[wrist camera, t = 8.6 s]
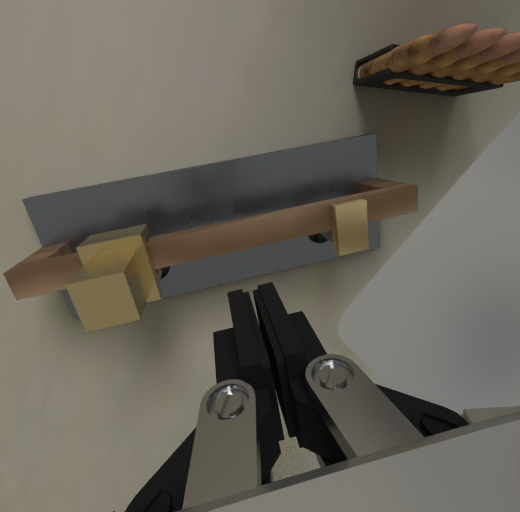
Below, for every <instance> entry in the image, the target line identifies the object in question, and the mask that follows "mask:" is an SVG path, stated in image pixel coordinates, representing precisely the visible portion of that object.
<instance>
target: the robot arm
mask: <svg viewBox="0 0 520 512" xmlns="http://www.w3.org/2000/svg"><path fill="white" fill-rule="evenodd" d="M227 293H228V299H229V304H230V310H231V316H232V321H233V328H229V329H225V330H221V331H217V332H214V333H213V337H214V352H215V366H216V381H217V384H216V385H214V386H213V387H212V388H211V389H209V390H208V391H207V392H206V394H205V395H204V397H203V399H202V401H201V404H200V410H199V415H198V421H197V427H196V428H195V429H194V430H193V431H192V433H191V434H190V435H189V436H188V437H187V438H186V439H185V440H184V442H183V443H182V444H181V445H180V446H179V447H178V448H177V450H176V451H175V452H174V453H173V454H172V455H171V456H170V457H169V459H168V460H167V461H166V462H165V463H164V464H163V465H162V466H161V468H160V469H159V470H158V471H157V472H156V473H155V474H154V475H153V477H152V478H151V479H150V480H149V481H148V482H147V483H146V485H145V486H144V487H143V488H142V489H141V490H140V491H139V492H138V494H137V495H136V496H135V497H134V499H133V500H132V501H131V503H130V504H129V506H128V507H127V509H126V511H124V512H520V406H515V407H497V408H479V409H464V411H463V414H457V413H456V412H454V411H452V410H450V409H448V408H445V407H443V406H440V405H437V404H434V403H431V402H428V401H425V400H421V399H419V398H416V397H413V396H410V395H407V394H404V393H401V392H398V391H395V390H392V389H389V388H386V387H383V386H380V385H377V384H374V383H373V382H372V381H371V380H370V378H369V377H368V376H367V375H366V374H365V373H364V372H363V371H362V370H361V369H360V368H359V367H358V366H357V365H356V363H354V362H353V361H352V360H350V359H349V358H346V357H344V356H341V355H336V354H328V355H327V353H326V352H325V350H324V348H323V346H322V345H321V343H320V341H319V339H318V338H317V336H316V334H315V332H314V331H313V329H312V327H311V325H310V324H309V322H308V320H307V318H306V317H305V315H304V313H303V312H302V311H300V312H296V313H291V314H287V312H286V310H285V307H284V305H283V303H282V301H281V299H280V297H279V295H278V293H277V291H276V289H275V287H274V285H273V283H272V282H271V283H267V284H262V285H258V290H253V294H254V300H255V305H256V310H257V315H258V320H259V324H258V321H257V318H256V314H255V311H254V308H253V305H252V301H251V298H250V295H249V292H245V293H243V291H242V289H240V290H236V291H232V292H227ZM259 326H260V327H259ZM275 390H276V392H275ZM276 393H277V397H278V400H279V403H280V407H281V410H282V414H283V417H284V420H285V424H286V427H287V431H288V434H289V437H290V438H291V437H295V436H296V437H297V440H298V444H299V447H300V448H302V447H304V448H306V449H308V450H310V451H312V452H314V453H316V457H317V460H318V463H319V465H320V467H321V468H319V469H316V470H312V471H309V472H305V473H302V474H299V475H295V476H292V477H289V478H285V479H282V480H279V481H275V482H274V481H273V473H272V467H273V466H274V464H275V462H276V461H277V459H278V457H279V455H280V454H281V451H280V446H279V441H281V440H284V435H283V429H282V424H281V418H280V413H279V408H278V402H277V397H276ZM113 512H115V511H113Z"/></svg>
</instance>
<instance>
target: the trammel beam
mask: <svg viewBox="0 0 520 512" xmlns="http://www.w3.org/2000/svg"><path fill="white" fill-rule="evenodd" d="M416 211H418V186H415V185H410V184H404V183H399V182H394V181H388V180H383V179H373V180H368V181H363V182H359V183H358V194H353V195H348V196H344V197H339V198H334V199H329V200H325V201H320V202H315V203H310V204H305V205H301V206H296V207H291V208H286V209H282V210H277V211H272V212H267V213H262V214H258V215H253V216H248V217H243V218H239V219H234V220H229V221H224V222H219V223H215V224H210V225H205V226H200V227H196V228H191V229H186V230H181V231H176V232H172V233H167V234H162V235H157V236H153V237H148V238H146V242H147V245H148V248H149V252H150V255H151V258H152V261H153V264H154V268H155V269H159V268H164V267H168V266H173V265H177V264H182V263H186V262H191V261H195V260H200V259H204V258H209V257H213V256H218V255H222V254H227V253H231V252H236V251H240V250H245V249H249V248H254V247H258V246H263V245H267V244H272V243H276V242H281V241H285V240H290V239H294V238H299V237H303V236H308V235H312V234H317V233H319V234H321V235H322V236H324V237H325V238H326V239H328V240H329V241H331V242H332V243H333V246H334V252H335V253H336V254H337V255H339V256H341V255H346V254H350V253H354V252H359V251H363V250H367V249H369V243H368V222H371V221H376V220H380V219H385V218H389V217H394V216H398V215H403V214H407V213H412V212H416ZM82 266H83V264H82V262H81V259H80V257H79V254H78V252H76V253H72V250H71V248H70V245H69V243H68V242H66V243H61V244H56V245H51V246H46V247H42V248H41V249H39V250H38V251H36V252H35V253H33V254H32V255H30V256H29V257H27V258H26V259H24V260H23V261H21V262H20V263H18V264H17V265H15V266H14V267H12V268H11V269H9V270H8V271H6V272H5V273H3V274H4V276H5V278H6V280H7V282H8V284H9V286H10V288H11V290H12V292H13V294H14V296H15V298H16V300H19V299H24V298H28V297H33V296H37V295H42V294H46V293H51V292H55V291H60V290H64V289H67V288H66V286H65V284H66V283H67V282H68V281H69V280H70V279H71V278H72V277H73V276H74V275H75V274H76V273H77V272H78V271H79V270H80V268H81V267H82Z"/></svg>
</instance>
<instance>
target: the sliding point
mask: <svg viewBox="0 0 520 512" xmlns="http://www.w3.org/2000/svg"><path fill="white" fill-rule="evenodd" d="M148 233H149V228H148V225H147V224H143V225H138V226H133V227H128V228H123V229H118V230H113V231H108V232H104V233H99V234H94V235H90V236H89V237H88V238H87V239H86V240H84V241H83V242H82V243H81V244H80V245H79V246H77V247H76V249H77V252H78V254H79V257H80V259H81V262H82V264H83V266H82V267H81V268H80V270H79V271H78V272H77V273H76V274H75V275H74V276H73V277H72V278H71V279H70V280H69V281H68V282H67V283H66V284H65V286H66V288H67V290H68V293H69V295H70V297H71V300H72V302H73V304H74V306H75V309H76V311H77V313H78V316H79V318H80V320H81V323H82V325H83V327H84V329H85V332H86V333H87V332H91V331H95V330H99V329H103V328H107V327H112V326H116V325H120V324H124V323H128V322H132V321H137V320H141V316H142V313H143V310H144V307H145V304H146V303H147V302H152V301H156V300H160V299H161V297H162V290H161V287H160V284H159V283H160V279H161V275H162V271H161V268H159V269H155V268H154V264H153V261H152V258H151V255H150V252H149V248H148V245H147V242H146V237H147V235H148Z"/></svg>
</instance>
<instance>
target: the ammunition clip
mask: <svg viewBox="0 0 520 512" xmlns="http://www.w3.org/2000/svg"><path fill="white" fill-rule="evenodd" d="M477 29H478V25H477V24H473V23H466V24H459V25H455V26H452V27H448V28H445V29H443V30H441V31H438V32H435V33H432V34H430V35H423V36H420V37H417V38H415V39H413V40H411V41H408V42H406V43H404V44H402V45H395V44H392V45H390V46H388V47H386V48H383V49H381V50H379V51H377V52H375V53H373V54H371V55H368V56H366V57H364V58H362V59H360V60H358V61H356V65H355V73H354V80H353V85H357V86H366V87H375V88H384V89H393V90H403V91H412V92H421V93H430V94H439V95H448V96H459V95H464V94H469V93H474V92H480V91H485V90H490V89H495V88H500V87H503V84H504V83H509V82H514V81H519V80H520V32H517V33H509V34H506V29H502V28H488V29H483V30H479V31H476V30H477Z"/></svg>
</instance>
